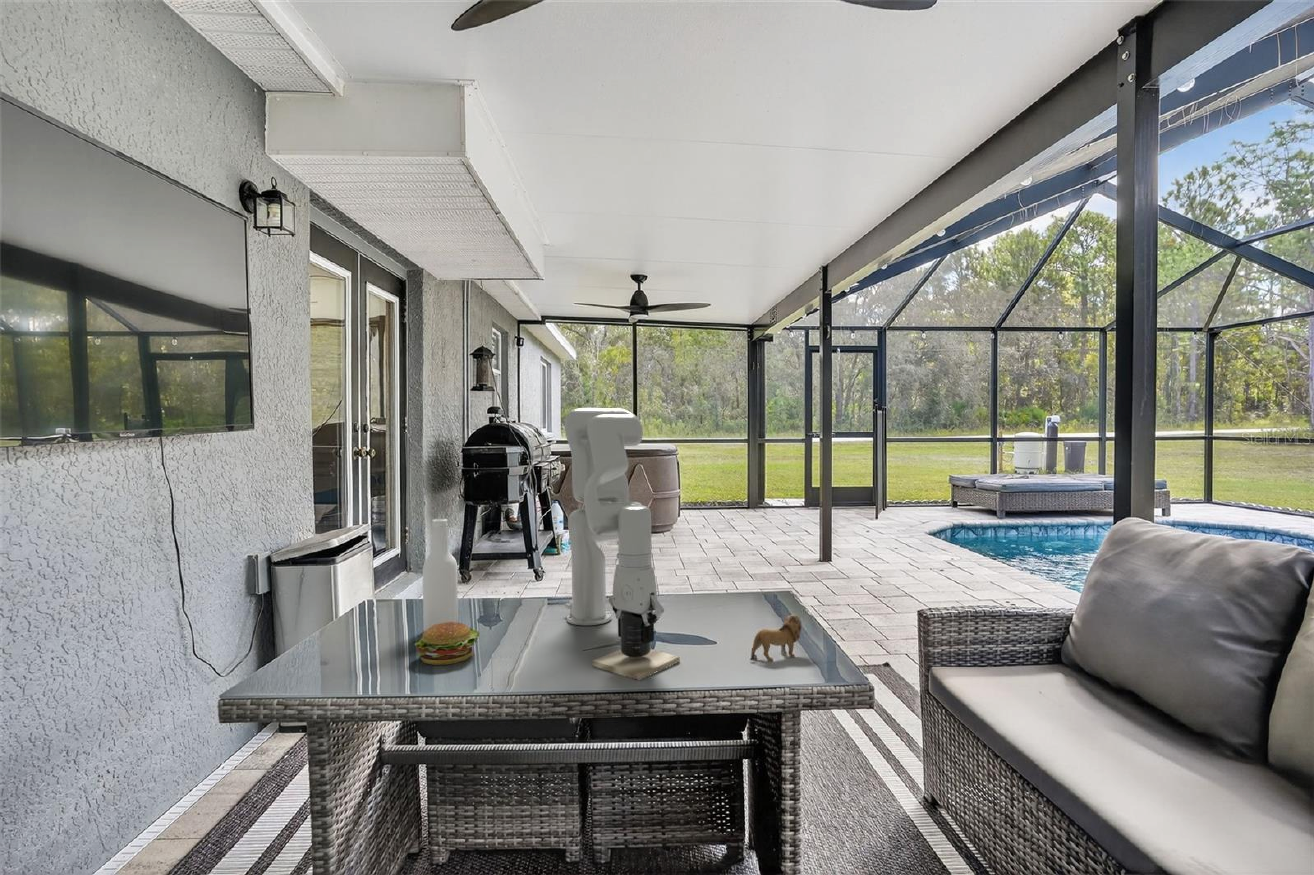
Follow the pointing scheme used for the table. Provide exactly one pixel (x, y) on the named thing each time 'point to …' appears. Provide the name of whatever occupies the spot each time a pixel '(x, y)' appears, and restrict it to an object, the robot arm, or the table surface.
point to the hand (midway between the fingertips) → (635, 638)
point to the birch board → (635, 663)
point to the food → (446, 643)
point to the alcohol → (439, 580)
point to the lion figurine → (778, 637)
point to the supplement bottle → (633, 635)
